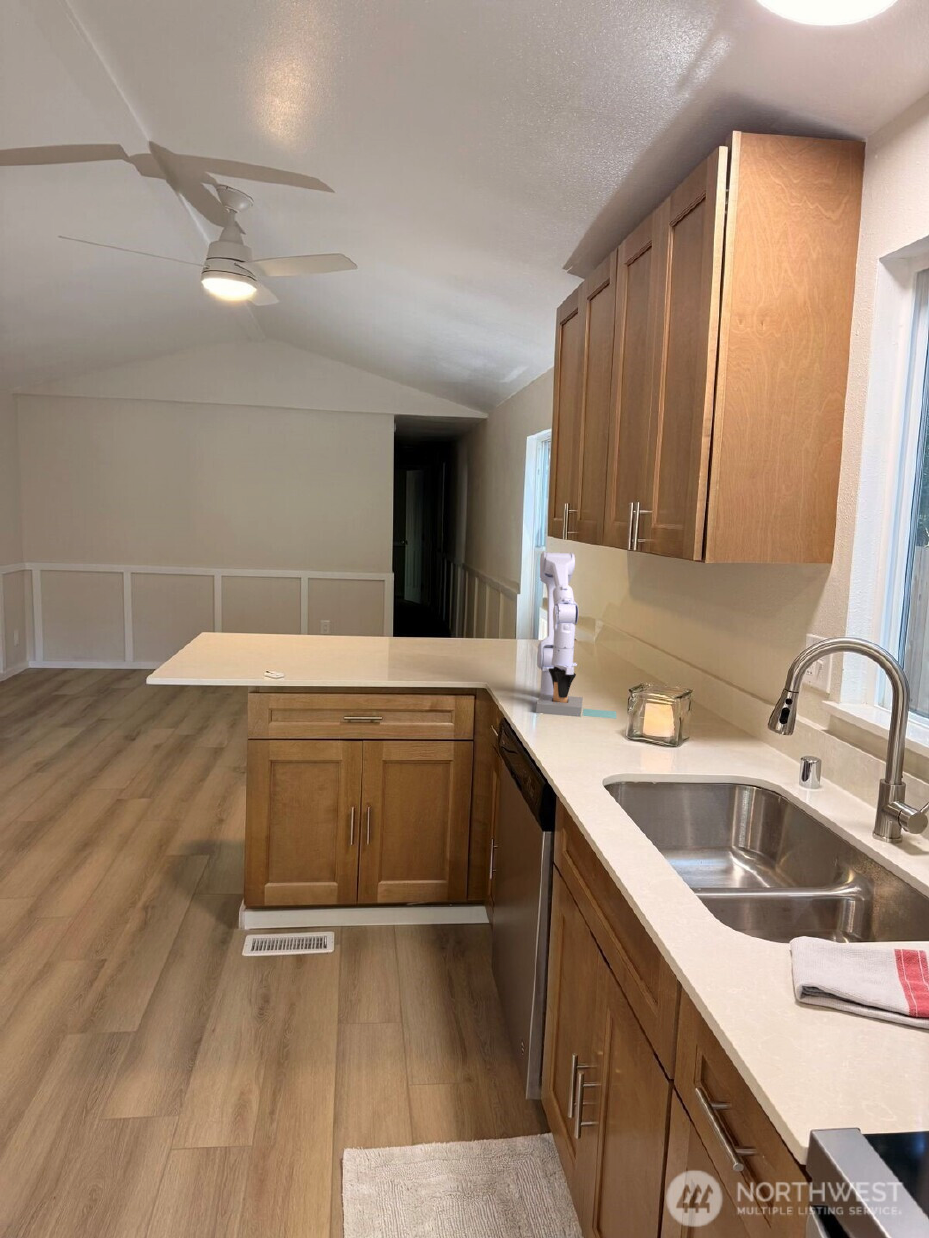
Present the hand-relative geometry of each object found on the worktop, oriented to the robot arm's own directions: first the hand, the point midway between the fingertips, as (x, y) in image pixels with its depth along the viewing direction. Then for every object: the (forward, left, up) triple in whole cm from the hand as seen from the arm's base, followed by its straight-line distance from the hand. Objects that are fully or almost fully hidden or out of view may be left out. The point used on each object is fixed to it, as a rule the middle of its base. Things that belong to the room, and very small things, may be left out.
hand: (560, 695), depth 235 cm
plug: (0, 0, -3) cm, 3 cm away
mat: (+1, +11, -4) cm, 12 cm away
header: (0, 0, -4) cm, 4 cm away
